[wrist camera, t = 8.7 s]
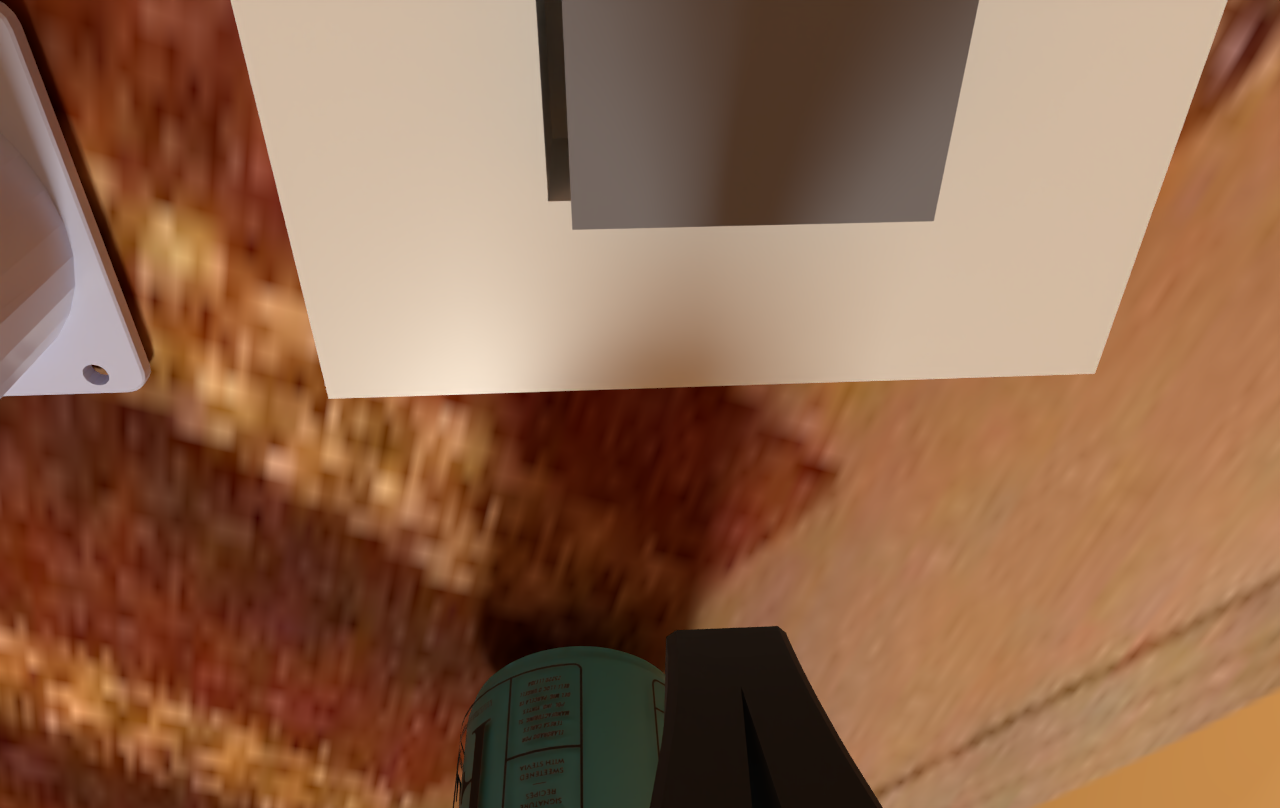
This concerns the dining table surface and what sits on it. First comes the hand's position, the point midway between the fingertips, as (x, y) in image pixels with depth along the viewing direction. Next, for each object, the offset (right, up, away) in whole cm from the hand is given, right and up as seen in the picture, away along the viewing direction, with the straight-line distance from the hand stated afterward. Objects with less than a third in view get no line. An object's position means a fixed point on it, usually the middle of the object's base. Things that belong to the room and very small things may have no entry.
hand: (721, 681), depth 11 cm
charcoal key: (0, +10, +2) cm, 10 cm away
